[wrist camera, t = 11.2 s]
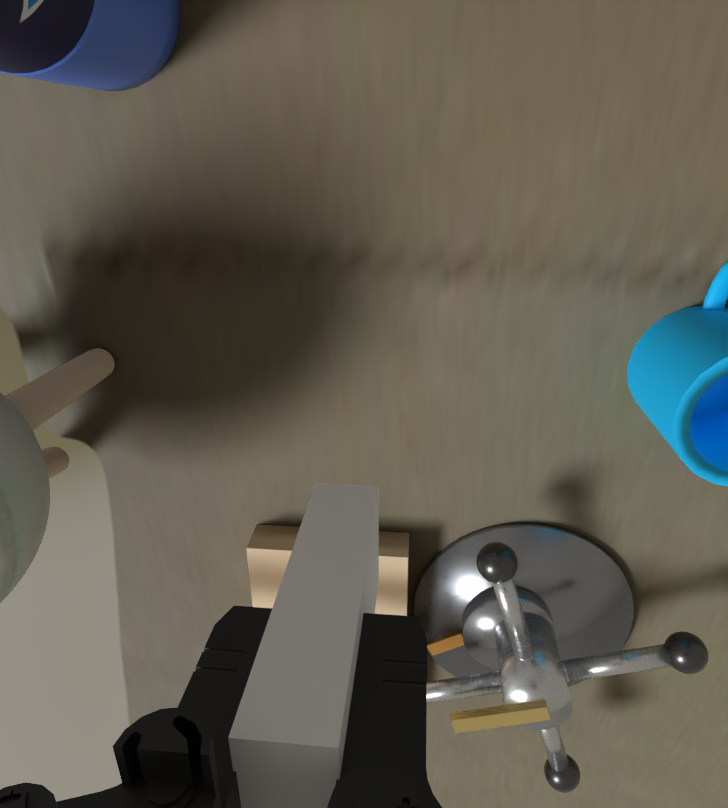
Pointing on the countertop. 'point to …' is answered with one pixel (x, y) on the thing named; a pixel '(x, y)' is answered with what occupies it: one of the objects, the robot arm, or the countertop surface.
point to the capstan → (537, 663)
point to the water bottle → (88, 40)
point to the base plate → (537, 573)
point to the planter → (35, 457)
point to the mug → (688, 381)
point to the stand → (275, 548)
